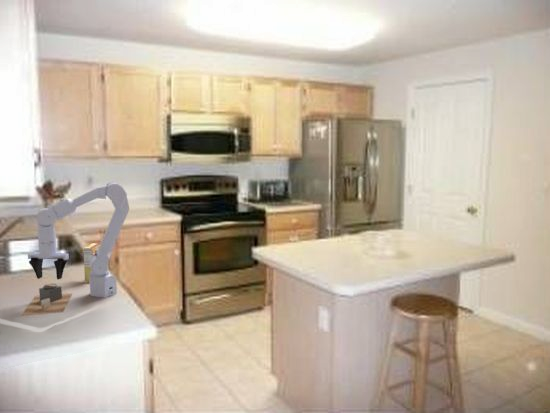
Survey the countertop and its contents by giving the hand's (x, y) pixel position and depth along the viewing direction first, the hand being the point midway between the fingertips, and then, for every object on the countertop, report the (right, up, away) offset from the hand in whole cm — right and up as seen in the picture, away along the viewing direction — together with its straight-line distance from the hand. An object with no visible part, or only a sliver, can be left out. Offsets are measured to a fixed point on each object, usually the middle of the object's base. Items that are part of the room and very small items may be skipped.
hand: (49, 278), depth 171 cm
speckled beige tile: (+2, -9, -8) cm, 12 cm away
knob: (0, -8, +1) cm, 8 cm away
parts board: (+1, -10, -3) cm, 10 cm away
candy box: (+5, -6, +28) cm, 29 cm away
